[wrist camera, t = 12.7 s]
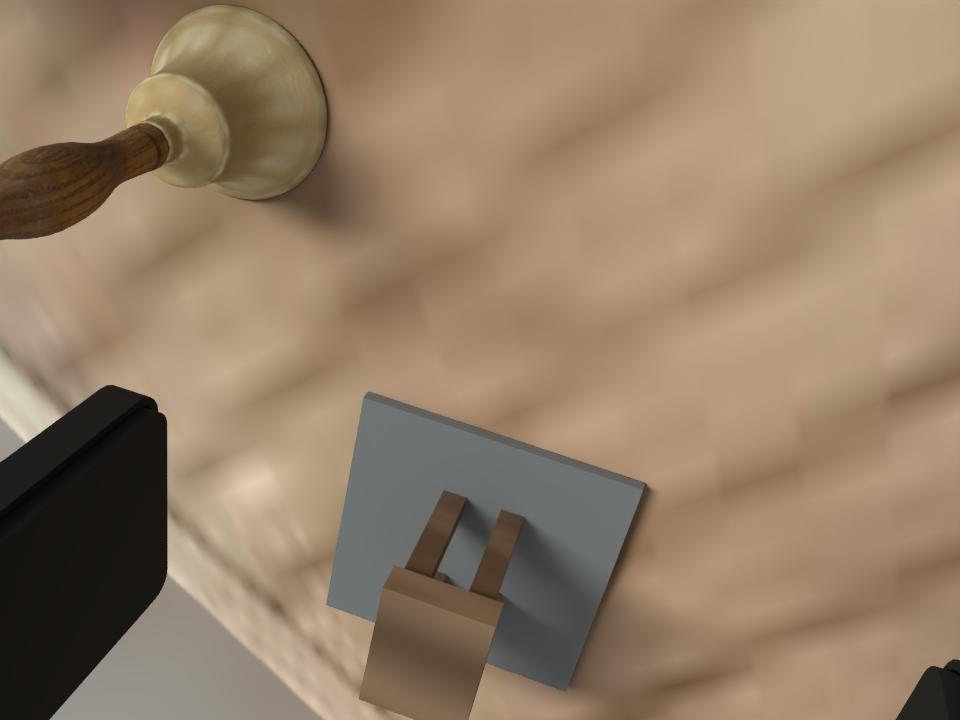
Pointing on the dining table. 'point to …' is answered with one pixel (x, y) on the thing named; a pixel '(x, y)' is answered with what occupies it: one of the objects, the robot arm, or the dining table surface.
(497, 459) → the slate mat
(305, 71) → the hand bell
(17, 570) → the robot arm
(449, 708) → the walnut stool
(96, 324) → the dining table surface
